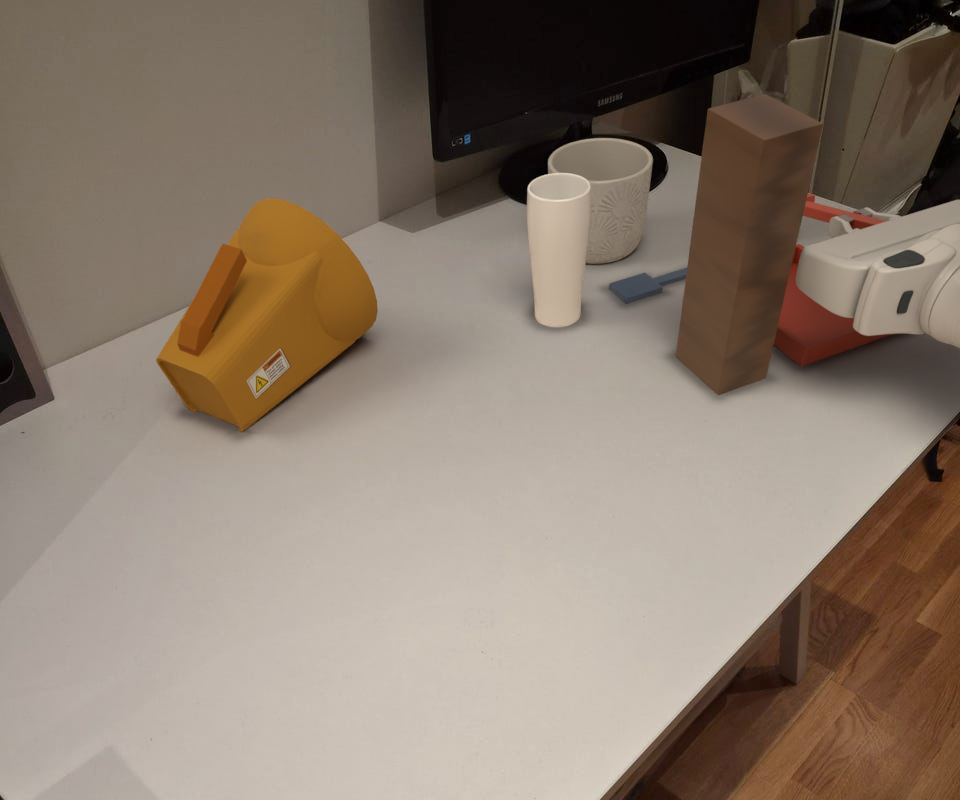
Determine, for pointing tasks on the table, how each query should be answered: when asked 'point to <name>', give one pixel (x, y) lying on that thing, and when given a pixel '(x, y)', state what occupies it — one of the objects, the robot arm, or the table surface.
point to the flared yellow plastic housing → (268, 315)
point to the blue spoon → (644, 285)
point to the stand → (744, 237)
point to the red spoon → (836, 214)
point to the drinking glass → (558, 245)
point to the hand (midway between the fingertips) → (845, 219)
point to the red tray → (813, 326)
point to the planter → (610, 192)
